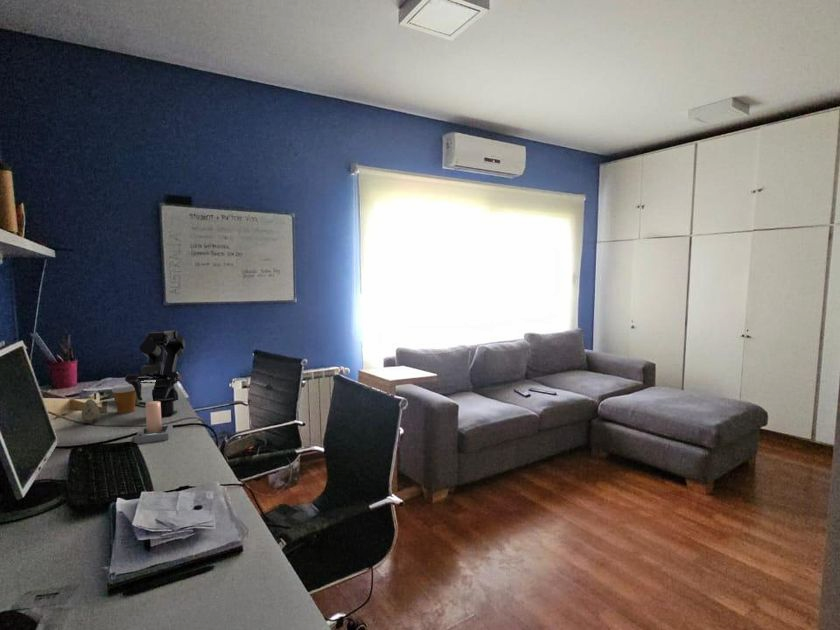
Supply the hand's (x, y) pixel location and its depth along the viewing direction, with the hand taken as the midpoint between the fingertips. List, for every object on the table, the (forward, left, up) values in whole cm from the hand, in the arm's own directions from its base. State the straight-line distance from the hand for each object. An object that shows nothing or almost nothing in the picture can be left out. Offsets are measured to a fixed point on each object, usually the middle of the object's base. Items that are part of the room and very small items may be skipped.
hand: (152, 398), depth 168 cm
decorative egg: (-9, -29, -12) cm, 33 cm away
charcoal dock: (+10, +5, -12) cm, 16 cm away
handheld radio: (-36, -28, -13) cm, 47 cm away
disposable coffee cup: (-23, -23, -12) cm, 35 cm away
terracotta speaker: (+10, +5, -11) cm, 16 cm away
